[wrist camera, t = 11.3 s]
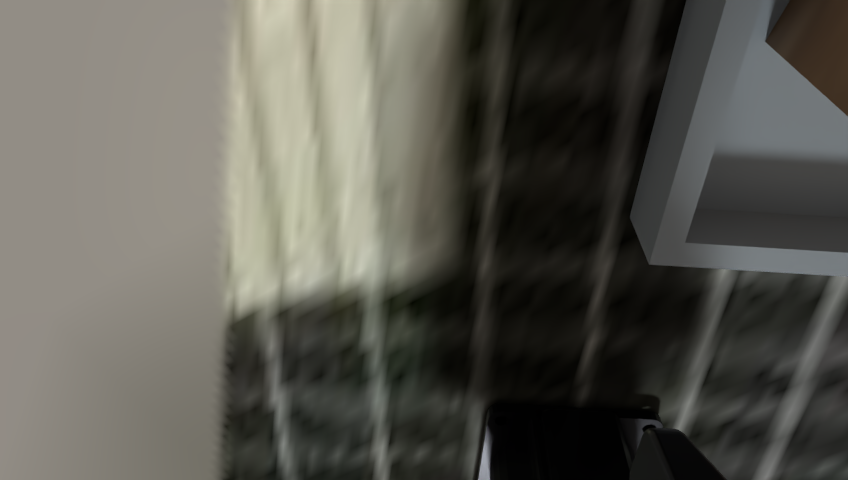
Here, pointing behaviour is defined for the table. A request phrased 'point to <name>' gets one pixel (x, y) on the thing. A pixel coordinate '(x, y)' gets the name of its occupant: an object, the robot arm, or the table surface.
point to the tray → (742, 154)
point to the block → (816, 45)
